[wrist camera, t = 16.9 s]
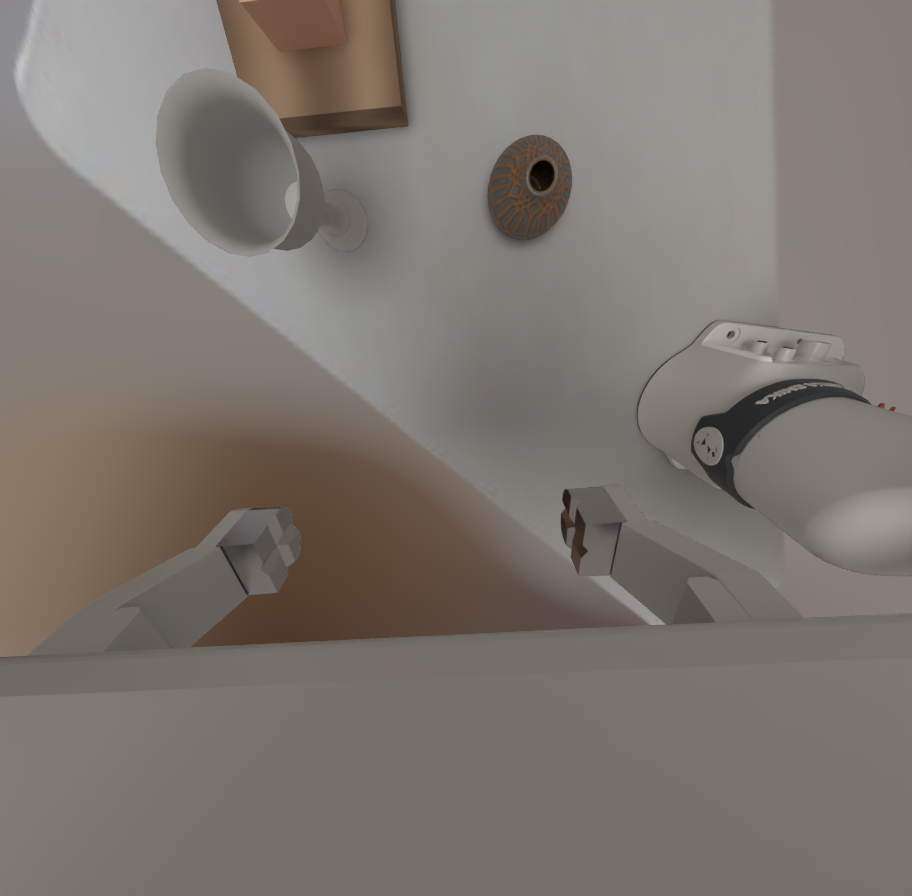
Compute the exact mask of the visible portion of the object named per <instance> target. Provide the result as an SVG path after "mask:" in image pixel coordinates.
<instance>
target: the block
mask: <svg viewBox="0 0 912 896" xmlns="http://www.w3.org/2000/svg"><path fill="white" fill-rule="evenodd" d="M239 2H240V3H241V5H242V6H243V7H244V8H245V10H246V11H247V12H248V13H249V15H250V16H251V17H252V18H253V20H254V21H255V22H256V23H257V25H258V26H259V27H260V28H261V30H262V31H263V32H264V33H265V35H266V36H267V37H268V38H269V40H270V41H271V42H272V43H273V45H274V46H275V47H276V48H277V50H278V51H279V52H283V51H292V50H300V49H309V48H318V47H327V46H336V45H344V44H347V43H346V36H345V30H344V24H343V18H342V11H341V5H340V0H239Z"/></svg>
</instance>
